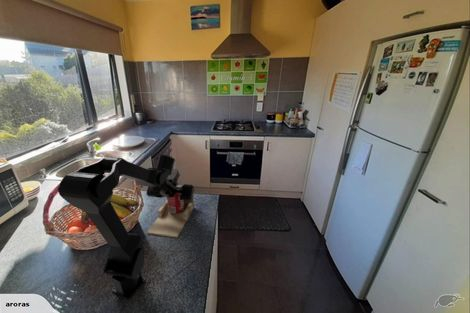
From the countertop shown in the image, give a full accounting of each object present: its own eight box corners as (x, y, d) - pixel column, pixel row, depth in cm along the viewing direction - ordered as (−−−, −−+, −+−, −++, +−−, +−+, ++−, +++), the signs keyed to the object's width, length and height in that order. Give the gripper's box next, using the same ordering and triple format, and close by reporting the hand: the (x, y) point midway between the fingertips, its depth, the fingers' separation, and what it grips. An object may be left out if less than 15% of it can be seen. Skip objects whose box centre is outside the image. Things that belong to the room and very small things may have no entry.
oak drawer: (177, 237, 76) (176, 223, 74) (147, 233, 78) (144, 219, 75) (193, 207, 94) (193, 195, 91) (168, 204, 95) (167, 192, 93)
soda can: (184, 204, 94) (183, 182, 90) (184, 214, 88) (183, 191, 83) (168, 206, 92) (166, 183, 88) (167, 216, 86) (166, 192, 82)
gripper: (191, 168, 77) (201, 180, 91) (146, 164, 79) (162, 176, 93) (185, 196, 72) (196, 204, 87) (137, 191, 75) (155, 200, 89)
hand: (177, 195), depth 89 cm, fingers closed on soda can, 7 cm apart
